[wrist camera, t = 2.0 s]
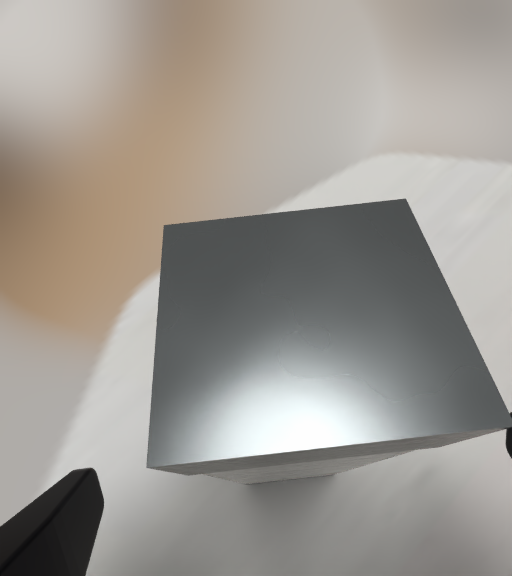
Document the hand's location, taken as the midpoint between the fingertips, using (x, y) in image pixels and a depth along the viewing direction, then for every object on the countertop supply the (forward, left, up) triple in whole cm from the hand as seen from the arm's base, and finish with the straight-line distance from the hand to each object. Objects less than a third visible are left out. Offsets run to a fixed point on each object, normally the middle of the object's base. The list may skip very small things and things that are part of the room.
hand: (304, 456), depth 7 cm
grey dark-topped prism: (+2, 0, -9) cm, 9 cm away
